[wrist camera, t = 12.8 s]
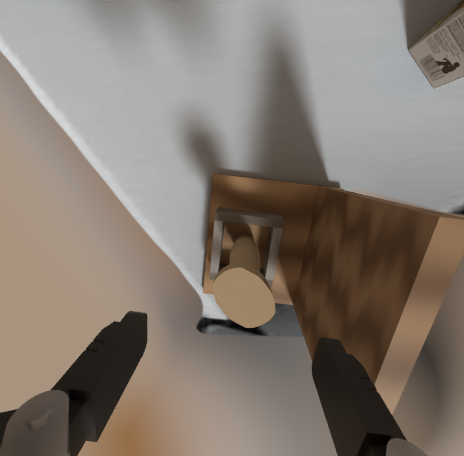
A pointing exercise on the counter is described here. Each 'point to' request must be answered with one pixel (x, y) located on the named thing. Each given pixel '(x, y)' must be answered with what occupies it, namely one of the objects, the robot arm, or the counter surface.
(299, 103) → the counter surface
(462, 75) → the coffee box
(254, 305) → the handle
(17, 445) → the robot arm
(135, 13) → the counter surface
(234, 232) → the board
